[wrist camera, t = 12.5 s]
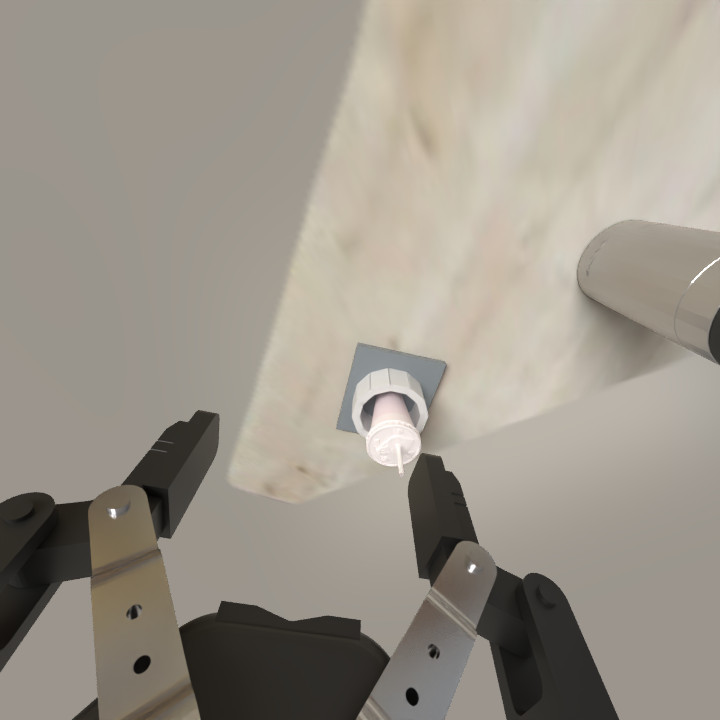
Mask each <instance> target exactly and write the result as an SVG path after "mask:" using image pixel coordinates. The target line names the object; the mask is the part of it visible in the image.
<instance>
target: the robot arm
mask: <svg viewBox="0 0 720 720" xmlns="http://www.w3.org/2000/svg"><path fill="white" fill-rule="evenodd" d="M578 281H579V285H580V287H581V289H582V291H583V292H584V293H585V294H586V295H587V296H588V297H590V298H592V299H594V300H596V301H598V302H600V303H601V304H603V305H605V306H607V307H609V308H611V309H612V310H614V311H616V312H618V313H620V314H622V315H624V316H626V317H628V318H630V319H631V320H633V321H635V322H637V323H639V324H641V325H643V326H645V327H647V328H649V329H651V330H652V331H654V332H656V333H658V334H660V335H662V336H664V337H666V338H668V339H670V340H672V341H674V342H675V343H677V344H679V345H681V346H683V347H685V348H687V349H689V350H691V351H693V352H695V353H697V354H699V355H701V356H703V357H705V358H707V359H708V360H710V361H712V362H714V363H716V364H718V365H720V232H714V231H708V230H701V229H694V228H687V227H681V226H674V225H668V224H661V223H655V222H648V221H641V220H630V221H624V222H621V223H618V224H615V225H613V226H611V227H609V228H608V229H606V230H604V231H603V232H602V233H600V234H599V235H598V236H597V237H595V239H594V240H593V241H592V242H591V243H590V244H589V245H588V247H587V248H586V250H585V251H584V253H583V255H582V257H581V260H580V262H579V267H578ZM218 440H219V414H217V413H212V412H206V411H200V410H198V411H197V412H196V413H195V414H194V415H193V417H192V418H191V419H190V421H189V422H183V421H178V422H177V423H175V424H174V425H172V426H170V427H169V428H167V429H166V430H165V431H164V433H163V434H162V435H161V436H160V438H159V439H158V441H157V442H155V444H154V445H153V446H152V448H151V450H149V451H148V453H147V454H146V455H145V456H144V457H143V459H142V460H141V461H140V463H139V464H138V465H137V466H136V467H135V469H134V470H133V471H132V472H131V474H130V475H129V476H128V477H127V479H126V480H125V481H124V482H123V484H121V486H116V487H114V488H111V489H109V490H107V491H105V492H103V493H101V494H100V495H99V496H97V497H96V498H95V499H94V500H91V501H85V502H77V503H76V502H75V503H66V504H56V505H55V502H54V499H53V498H52V497H51V496H50V495H48V494H45V493H39V492H38V493H37V492H34V493H26V494H21V495H18V496H15V497H12V498H10V499H8V500H6V501H4V502H2V503H0V672H1V670H2V669H3V668H4V666H5V665H6V663H7V662H8V660H9V659H10V657H11V656H12V654H13V653H14V652H15V650H16V649H17V647H18V646H19V644H20V642H21V641H22V640H23V638H24V637H25V636H26V634H27V633H28V631H29V630H30V628H31V627H32V625H33V624H34V623H35V621H36V620H37V618H38V617H39V615H40V614H41V612H42V611H43V609H44V608H45V607H46V605H47V603H48V602H49V601H50V599H51V598H52V596H53V595H54V594H55V592H56V591H57V589H58V588H59V586H60V584H61V583H62V582H63V581H68V580H74V579H80V578H85V577H91V576H92V577H91V600H92V615H93V631H94V646H95V662H96V677H97V692H98V697H97V698H96V699H95V700H94V701H93V702H91V703H90V704H89V705H88V706H87V707H86V708H85V709H83V710H82V711H81V712H80V713H79V714H78V715H77V716H75V717H74V718H73V719H72V720H444V719H445V717H446V714H447V711H448V709H449V707H450V704H451V702H452V699H453V696H454V694H455V691H456V689H457V686H458V683H459V681H460V678H461V676H462V673H463V670H464V668H465V666H466V663H467V660H468V658H469V655H470V653H471V650H472V648H473V645H474V642H475V640H476V637H477V634H478V635H480V636H482V637H484V638H485V639H487V640H489V642H490V646H491V651H492V655H493V660H494V664H495V669H496V673H497V678H498V682H499V687H500V691H501V696H502V700H503V704H504V710H505V714H506V719H507V720H619V718H618V716H617V713H616V711H615V709H614V707H613V704H612V702H611V700H610V697H609V695H608V693H607V690H606V688H605V686H604V683H603V682H602V679H601V676H600V674H599V672H598V670H597V667H596V665H595V663H594V660H593V658H592V656H591V653H590V651H589V649H588V647H587V644H586V642H585V640H584V637H583V635H582V633H581V630H580V628H579V626H578V624H577V621H576V619H575V616H574V614H573V612H572V610H571V607H570V605H569V603H568V600H567V599H566V597H565V595H564V594H563V592H562V591H561V589H560V588H559V587H558V586H557V585H556V584H555V583H554V582H553V581H551V580H550V579H549V578H547V577H545V576H543V575H541V574H538V573H530V574H528V575H526V576H525V578H524V579H521V578H519V577H517V576H515V575H513V574H511V573H509V572H507V571H504V570H503V569H501V568H499V567H497V566H496V565H495V562H494V560H493V558H492V557H491V555H490V554H489V553H488V552H487V551H486V550H485V549H484V548H483V547H481V546H480V545H479V543H478V540H477V537H476V534H475V531H474V527H473V524H472V521H471V517H470V514H469V511H468V508H467V507H466V501H465V498H464V497H463V492H462V489H461V485H460V483H459V481H458V480H457V479H456V477H455V476H454V474H453V473H452V472H449V471H445V468H444V465H443V461H442V458H441V457H440V456H435V455H430V454H425V453H422V454H421V455H420V457H419V459H418V461H417V464H416V466H415V468H414V471H413V473H412V476H411V478H410V481H409V485H408V498H409V506H410V513H411V521H412V528H413V535H414V543H415V551H416V558H417V566H418V573H419V578H424V579H430V584H431V590H430V591H429V593H428V594H427V596H426V598H425V600H424V601H423V603H422V605H421V606H420V608H419V610H418V612H417V613H416V615H415V617H414V619H413V620H412V622H411V624H410V625H409V627H408V629H407V631H406V633H405V634H404V636H403V637H402V639H401V641H400V643H399V644H398V646H397V648H396V649H395V651H394V653H393V655H392V656H391V658H390V657H389V656H388V655H387V653H386V652H385V651H384V650H383V649H382V648H381V646H380V645H378V644H377V643H376V642H375V641H374V640H373V639H371V638H369V637H368V636H367V635H365V634H363V633H361V632H360V627H361V624H360V623H361V620H356V619H348V618H341V617H334V616H322V617H317V618H310V619H304V620H298V621H288V620H286V619H284V618H282V617H279V616H277V615H275V614H273V613H271V612H269V611H267V610H265V609H262V608H260V607H258V606H254V605H247V604H240V603H233V602H226V601H221V604H220V607H219V610H218V612H217V613H212V614H208V615H204V616H201V617H199V618H196V619H194V620H192V621H190V622H188V623H186V624H184V625H183V626H181V627H180V628H178V624H177V620H176V616H175V611H174V606H173V602H172V597H171V593H170V589H169V584H168V580H167V575H166V571H165V567H164V562H163V558H162V554H161V551H160V549H159V548H158V544H157V541H158V539H159V537H163V538H171V537H172V535H173V534H174V532H175V530H176V528H177V526H178V524H179V523H180V521H181V519H182V517H183V515H184V513H185V511H186V510H187V508H188V506H189V504H190V502H191V501H192V499H193V497H194V495H195V493H196V491H197V490H198V488H199V486H200V484H201V482H202V480H203V479H204V477H205V475H206V473H207V471H208V469H209V467H210V466H211V464H212V462H213V460H214V458H215V455H216V452H217V448H218Z"/></svg>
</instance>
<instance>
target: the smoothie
mask: <svg viewBox="0 0 720 720" xmlns="http://www.w3.org/2000/svg"><path fill="white" fill-rule="evenodd" d="M366 447H367V452H368V454H369V456H370V457H371V458H372V459H373V460H374V461H375V462H377V463H379V464H381V465H385V466H391V467H395V466H398V470H399V476H404V467H403V465H405V464H407V463H409V462H411V461H413V460H414V459H415V458H416V457H417V456H418V454H419V452H420V450H421V438H420V434H419V432H418V431H417V429H416V428H415V427H414V425H413V423H412V420H411V418H410V415H409V413H408V410H407V407H406V405H405V402H404V400H403V397H402V395H401V393H397V392H393V391H388V392H384V393H380V394H377V396H376V401H375V407H374V412H373V418H372V424H371V429H370V431H369V432H368V434H367V437H366Z"/></svg>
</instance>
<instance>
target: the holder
mask: <svg viewBox="0 0 720 720" xmlns="http://www.w3.org/2000/svg"><path fill="white" fill-rule="evenodd" d="M445 367H446V364H445V362H444V361H439V360H435V359H430V358H426V357H421V356H417V355H412V354H408V353H403V352H398V351H394V350H389V349H385V348H380V347H376V346H371V345H366V344H362V343H358V344H357V348H356V352H355V356H354V360H353V363H352V367H351V371H350V375H349V379H348V383H347V387H346V391H345V395H344V399H343V403H342V407H341V410H340V414H339V418H338V422H337V428H336V429H339V430H344V431H349V432H354V433H359V434H361V435H362V436H363V437H365V438H366V437H367V434H368V432H369V431H370V429H371V424H372V418H373V412H374V407H375V401H376V396H377V394H380V393H384V392H388V391H393V392H397V393H401V395H402V397H403V400H404V402H405V405H406V407H407V410H408V413H409V415H410V418H411V420H412V423H413V425H414V427H415V428H416V429H417V431H418V432H419V433H421V432H422V431H423V428H424V426H425V423H426V421H427V419H428V412H427V411H428V409H429V406H430V404H431V401H432V399H433V397H434V394H435V392H436V389H437V387H438V384H439V382H440V379H441V377H442V374H443V372H444V369H445Z"/></svg>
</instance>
